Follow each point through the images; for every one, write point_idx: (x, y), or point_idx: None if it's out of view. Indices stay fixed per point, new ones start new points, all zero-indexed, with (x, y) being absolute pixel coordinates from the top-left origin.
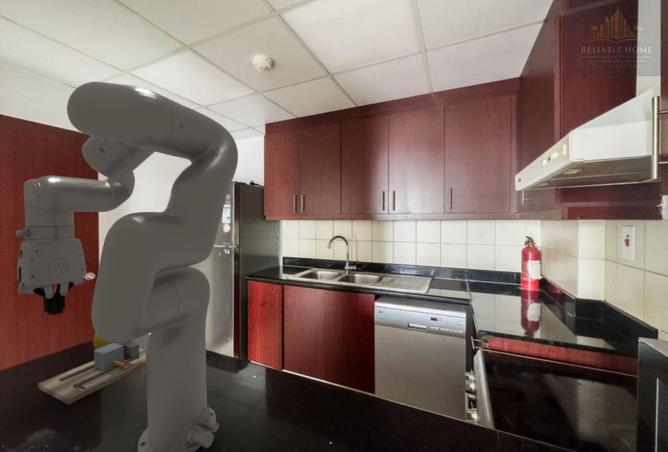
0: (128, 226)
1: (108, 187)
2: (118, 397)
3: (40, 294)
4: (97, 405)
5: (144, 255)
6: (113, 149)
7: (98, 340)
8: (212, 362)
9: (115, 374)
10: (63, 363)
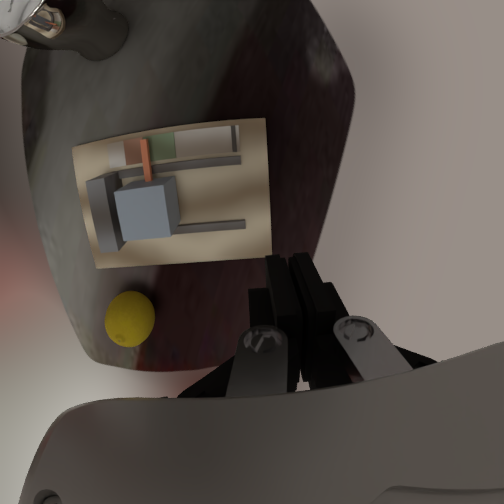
0: None
1: None
2: (201, 51)
3: (402, 352)
4: (235, 60)
5: None
6: None
7: (143, 312)
8: None
9: (167, 133)
10: (208, 322)
